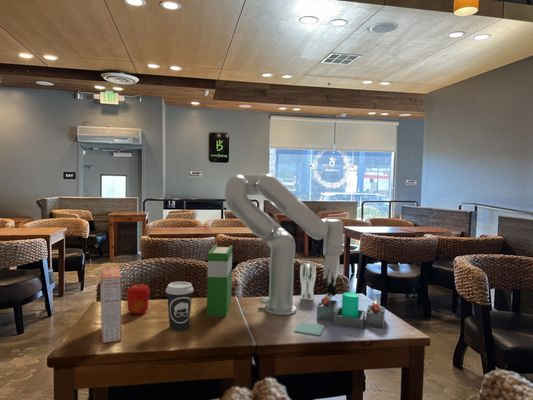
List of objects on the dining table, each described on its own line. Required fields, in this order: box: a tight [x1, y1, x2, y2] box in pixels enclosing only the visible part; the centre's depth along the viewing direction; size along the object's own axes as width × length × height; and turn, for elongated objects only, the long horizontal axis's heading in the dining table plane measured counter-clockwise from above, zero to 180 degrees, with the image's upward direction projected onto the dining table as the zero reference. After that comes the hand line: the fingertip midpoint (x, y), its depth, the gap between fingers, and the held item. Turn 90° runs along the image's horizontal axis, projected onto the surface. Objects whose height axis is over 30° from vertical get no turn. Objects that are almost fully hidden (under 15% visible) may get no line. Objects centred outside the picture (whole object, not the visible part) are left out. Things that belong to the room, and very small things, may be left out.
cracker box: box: [100, 266, 122, 344], centre depth 126 cm, size 14×6×21 cm, turn 24°
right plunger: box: [371, 298, 381, 313], centre depth 142 cm, size 3×8×3 cm, turn 160°
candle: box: [341, 291, 360, 318], centre depth 142 cm, size 6×6×12 cm
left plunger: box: [321, 293, 334, 306], centre depth 148 cm, size 3×8×3 cm, turn 160°
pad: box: [293, 321, 326, 337], centre depth 135 cm, size 9×9×1 cm
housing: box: [316, 298, 386, 330], centre depth 143 cm, size 24×13×6 cm, turn 70°
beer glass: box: [299, 262, 317, 301], centre depth 170 cm, size 7×7×15 cm
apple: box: [126, 282, 151, 316], centre depth 146 cm, size 9×8×12 cm
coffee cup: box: [165, 281, 195, 332], centre depth 133 cm, size 10×10×15 cm
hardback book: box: [206, 244, 233, 318], centre depth 153 cm, size 18×7×24 cm, turn 179°
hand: (331, 294), depth 156 cm, fingers closed
